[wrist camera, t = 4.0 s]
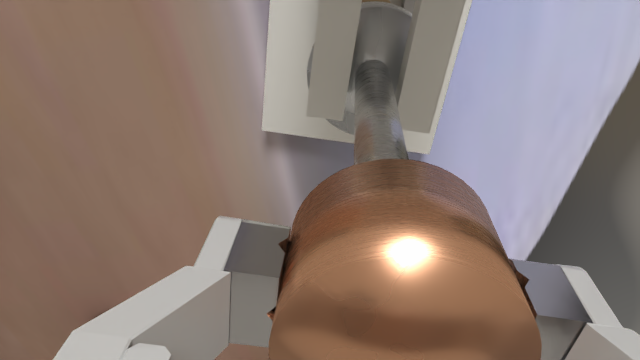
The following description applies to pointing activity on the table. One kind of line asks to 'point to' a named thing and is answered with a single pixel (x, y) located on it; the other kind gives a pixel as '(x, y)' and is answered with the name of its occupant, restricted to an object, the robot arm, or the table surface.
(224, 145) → the table surface
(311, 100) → the press frame
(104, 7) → the table surface
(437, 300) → the plunger
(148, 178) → the table surface
